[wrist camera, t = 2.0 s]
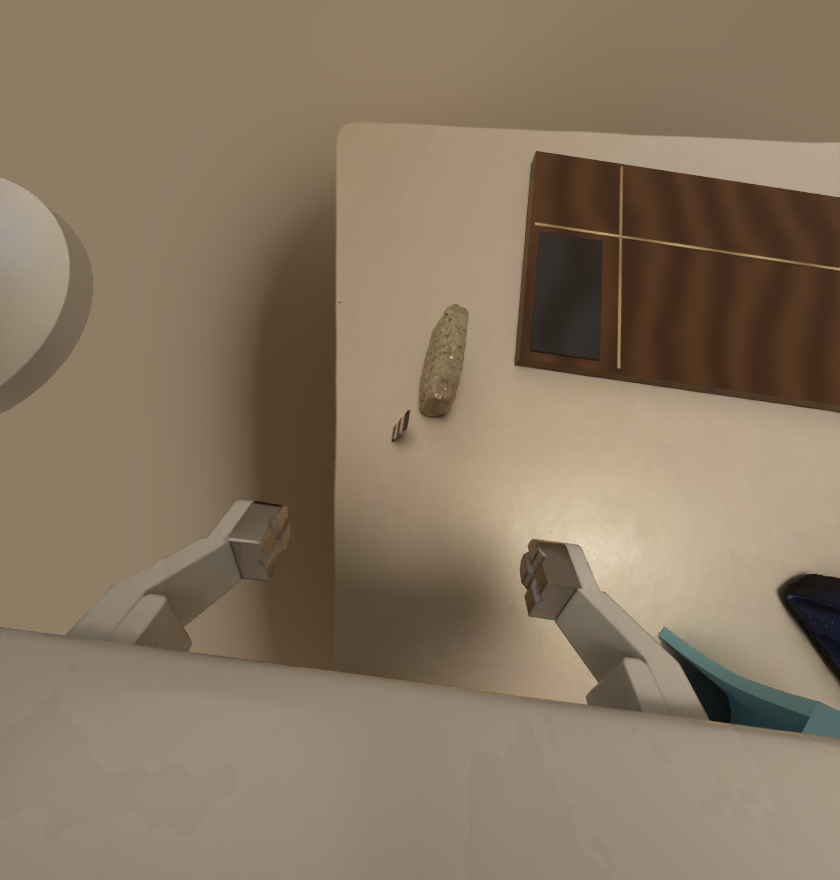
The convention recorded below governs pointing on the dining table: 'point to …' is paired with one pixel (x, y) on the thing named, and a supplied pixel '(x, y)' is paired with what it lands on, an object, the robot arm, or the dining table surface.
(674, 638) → the light blue toy chair
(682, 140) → the dining table surface
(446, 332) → the cuneiform tablet
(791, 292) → the board
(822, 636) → the book
